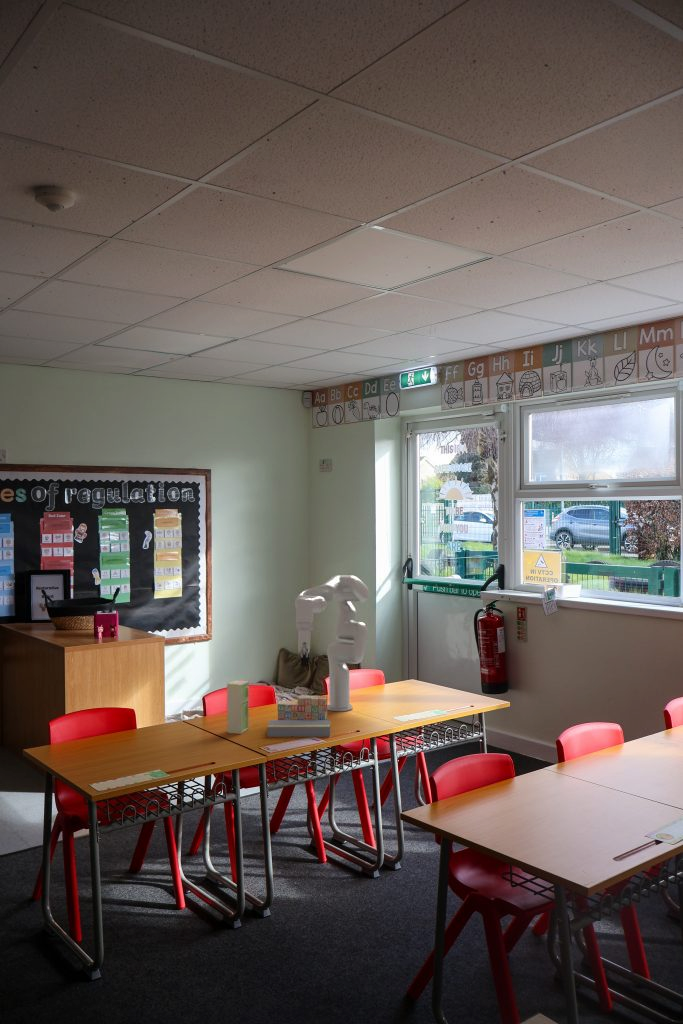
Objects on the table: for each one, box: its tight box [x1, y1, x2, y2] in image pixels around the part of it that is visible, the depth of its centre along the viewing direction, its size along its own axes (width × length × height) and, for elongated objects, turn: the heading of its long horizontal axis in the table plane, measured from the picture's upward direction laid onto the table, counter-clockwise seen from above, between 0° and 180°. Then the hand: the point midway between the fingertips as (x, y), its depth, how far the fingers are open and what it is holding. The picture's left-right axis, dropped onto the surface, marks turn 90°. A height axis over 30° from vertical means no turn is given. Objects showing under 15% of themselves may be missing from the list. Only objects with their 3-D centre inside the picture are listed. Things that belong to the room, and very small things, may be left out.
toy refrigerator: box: [226, 679, 250, 735], centre depth 365 cm, size 8×7×21 cm
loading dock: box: [266, 719, 331, 738], centre depth 362 cm, size 12×26×4 cm, turn 90°
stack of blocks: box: [277, 694, 328, 720], centre depth 377 cm, size 21×6×12 cm, turn 81°
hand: (305, 664), depth 377 cm, fingers open, 9 cm apart
